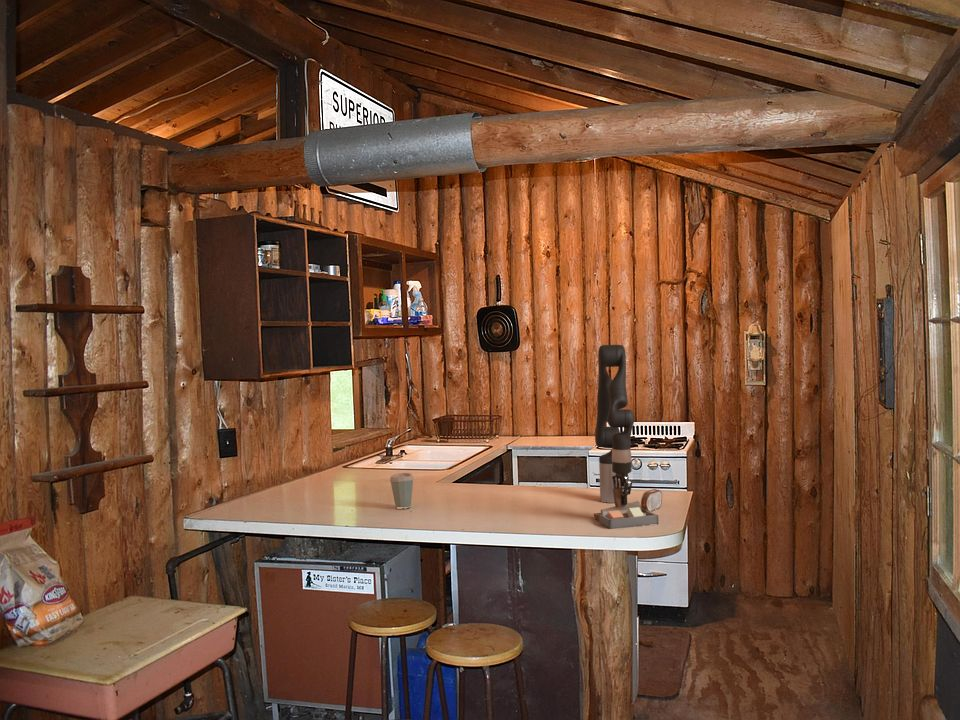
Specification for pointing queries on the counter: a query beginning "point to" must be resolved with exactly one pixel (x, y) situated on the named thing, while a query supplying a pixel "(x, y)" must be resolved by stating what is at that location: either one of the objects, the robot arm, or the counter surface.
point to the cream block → (634, 512)
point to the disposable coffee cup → (402, 489)
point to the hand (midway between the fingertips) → (622, 503)
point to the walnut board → (597, 515)
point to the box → (629, 521)
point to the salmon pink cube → (614, 514)
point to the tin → (651, 500)
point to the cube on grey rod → (619, 504)
